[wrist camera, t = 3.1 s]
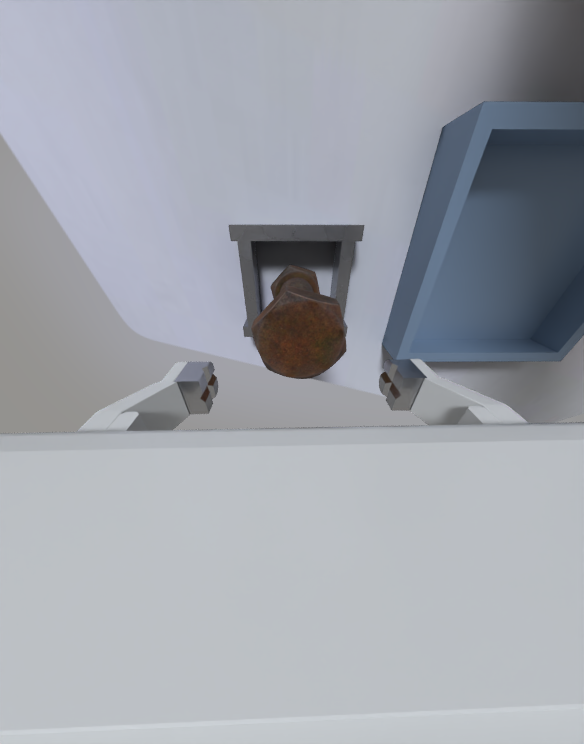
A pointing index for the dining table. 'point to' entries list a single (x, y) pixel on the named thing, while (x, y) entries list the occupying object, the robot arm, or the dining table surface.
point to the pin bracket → (252, 233)
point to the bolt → (299, 327)
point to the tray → (497, 240)
